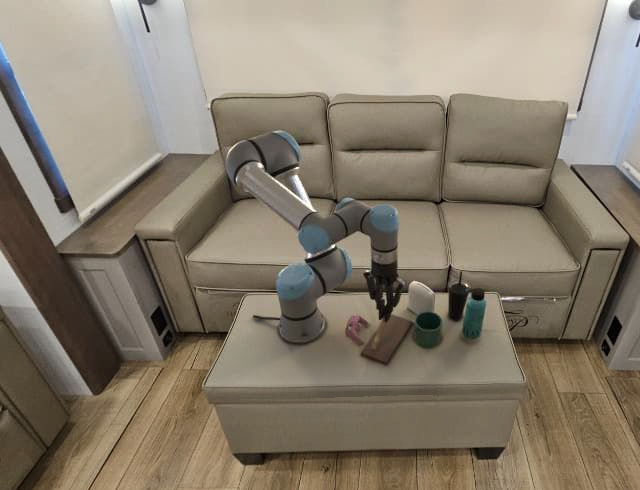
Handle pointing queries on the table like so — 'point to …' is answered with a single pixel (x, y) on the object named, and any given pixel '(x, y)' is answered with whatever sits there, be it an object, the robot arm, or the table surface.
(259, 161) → the robot arm
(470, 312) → the beverage bottle
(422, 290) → the photo printer
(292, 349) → the table surface
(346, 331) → the video game controller
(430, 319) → the coffee cup
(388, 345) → the board
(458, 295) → the drinking cup
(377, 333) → the stirrer
